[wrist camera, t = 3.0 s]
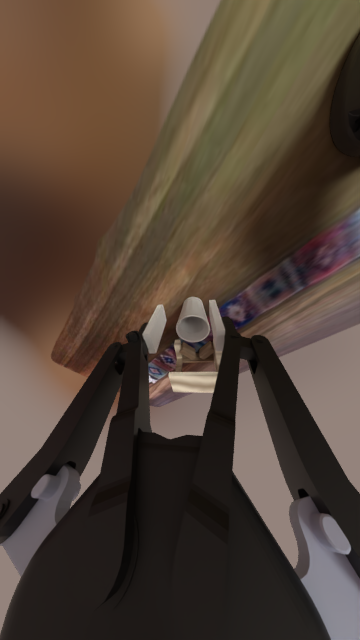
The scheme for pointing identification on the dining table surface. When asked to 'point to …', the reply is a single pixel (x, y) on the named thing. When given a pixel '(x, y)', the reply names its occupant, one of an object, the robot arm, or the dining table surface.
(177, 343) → the shelf
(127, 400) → the robot arm
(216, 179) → the dining table surface
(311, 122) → the dining table surface
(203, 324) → the cup
